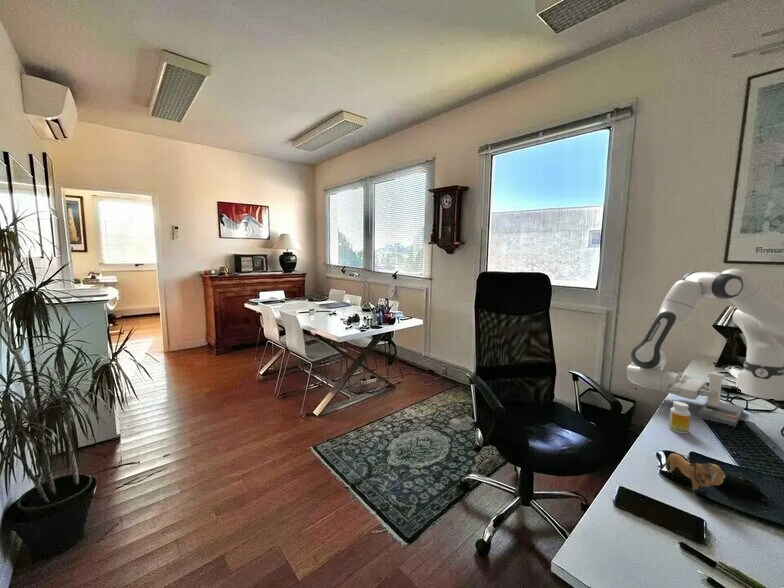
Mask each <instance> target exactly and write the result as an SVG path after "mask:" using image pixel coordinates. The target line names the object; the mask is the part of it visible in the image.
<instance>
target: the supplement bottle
mask: <svg viewBox="0 0 784 588" xmlns="http://www.w3.org/2000/svg"><path fill="white" fill-rule="evenodd" d="M672 405H673V406H672V407H670V410H669V418H668V419H669V420H668V428H669V430H671V431H673V432H675V433H679V434H688V433H689V432H690V421H691V412H690V411H689V404H687V403H685V402H683V401H678V400H676V401H673V404H672Z"/></svg>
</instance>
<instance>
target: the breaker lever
mask: <svg viewBox="0 0 784 588" xmlns="http://www.w3.org/2000/svg"><path fill="white" fill-rule="evenodd" d="M707 378H709V382H708V386H709V390H708V391H713V392H716V393H717V395H716V397H710V396H707V401H706V402H707V406H708V407H712V408H716V409H718V407H719V402H721V401H720V399H721V392H722V391H721V390H722V383H723V380H724V379H725V374H724V373H720V372H716V371H715V372H714V371H709V372H708V373H707Z"/></svg>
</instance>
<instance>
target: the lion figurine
mask: <svg viewBox="0 0 784 588" xmlns="http://www.w3.org/2000/svg"><path fill="white" fill-rule="evenodd" d="M667 465H669V466H670V469H669V470H668V473H669V472H671V473H672V471H673V470H674V471H675V469H676V468H678V469H679V471H680V472H681V473H682V474H683V475H684V476H686V477H687V478H689V479H691V483H692V494H693V495H694V496H696V495H695V494H694V492H693V490H697V489H698V487H699V486H700V487H702V488H703V487H705V488H710V487H712V486H721V484H723V482H724V479H725V478H726V473H724V471H723V470H722V468H721V467H720V466H719V465H718V464H715V463H710V462H709V463H698V462H696V463H690V462H689V461H687V460H686V459H685V458H684V457H683V456H682V455H681V454H678V453H675V452H673V453H670V454H669V455H668V457H667V459H666V461H665V463H663V464H662V465H661V464H660V465H657V467H658V468H660V469H662V468H661V467H663V468H665V467H666V466H667ZM669 466H668V467H669ZM672 474H673V473H672Z"/></svg>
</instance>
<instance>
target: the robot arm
mask: <svg viewBox="0 0 784 588" xmlns="http://www.w3.org/2000/svg"><path fill="white" fill-rule="evenodd" d="M702 298H711V299H712V298H713V299H721V300H722V299H723V300H726V299H727V300H728V301H730V303H731V304H732V305H733V306H734V307H735V308H736V309H735V311H734V312H733V314H732V321H733V323H734V324H735V325H736V326H737V327H738V328H739V329H740V331H741V332H742V334H743V335H744V338H745V341H746V353H745V354H746V356H745V360H744V362H743V369H742V370H740V371H738V372H737V378H736V382H735V384H736V387H738V388H739V389H740V390H741V392H740V393H742V394H745V395H746V396H747V395H748V396H751V397H754V398H759V399H763V400H769V399H774V400H773V401H784V346H783V345H782V344H780V343H779V342H778V341H777V340H776V339H775V337H774V335H775V336H780V337H784V304H783V303H782V302H780V301H778V300H776V299H775V298H773V297H772V296H770V295H769V293H767V291H766V290H765V289H764V288H763V287H762V286H761V285H760V284H759V283H758V282H757V280H755V279H754V277H752V276H750V275H749V274H748V273H747V272H745V271H744V270H742V269H739V268H729V269H725V270H723V271H721V272H717V271H691V272H687V273H685V274H684V275H683V276H682V277H681V279H680V280H677V281H676V282H674V283H673V285H672V286H671V288H670V289H669V291H668V292H667V293H666V295H665V297H664V299H663V300H662V303H661V305H660V307H659V310H658V313H657V315H656V317H655V320H654V321H653V323H652V324H651V327H650V328H649V330H648V331H647V333H646V335H645V336H644V339H642V341H641V342H640V343H638V344H637V345H635V346H634V347H633V349H632V350H631V353H630V358H631V361H632V362H631V363H630V364H628V365H627V367H626V372H625V373H626V377H627V380H628V381H629V382H630V383H632V384H634V385H638V386H640V387H643V388H647V389H655V390H658V391H659V392H663V393H667V394H670V395H675V396H678V397H681V398H686V399H688V400H697V398H698V397H699V396H702V397H708V396H710V397H716V395H717V393H716V392H713V391H708V390H709V385H707V381H706V380H705V379H703V378H699V377H697V376H692V375H687V374H684V373H683V372H679V371H675V372H674V371H667V370H664V369H665V366H666V365H667V361H668V358H667V355H666V353H665V352H663V350H662V346H663V345H664V342H665V341H666V339H667V337H668V335H669V334H670V332H671V331H672V330H674V329H675V328H676V327H678V326H680V325H684V324H686V323H687V322H688V321H689V320H690V319H691V317H692V316H693V314H694V312H695V311H696V309H697V306H698V305H699V302H700V300H701V299H702Z"/></svg>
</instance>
